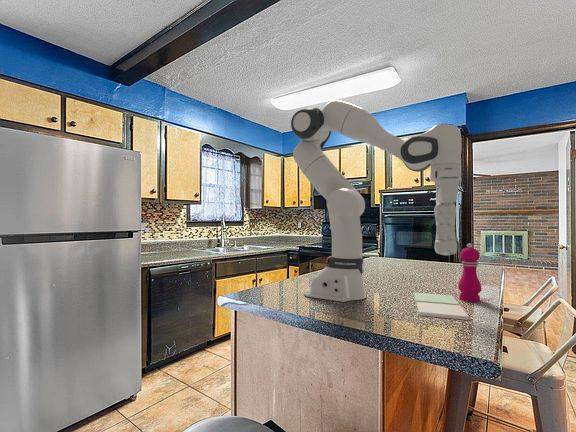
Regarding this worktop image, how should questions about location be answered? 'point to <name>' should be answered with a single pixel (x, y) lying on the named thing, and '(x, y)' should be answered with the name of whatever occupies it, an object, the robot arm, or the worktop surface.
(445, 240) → the plastic bottle
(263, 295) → the worktop surface
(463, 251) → the pepper mill
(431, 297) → the mat
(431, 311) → the mat
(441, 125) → the robot arm
